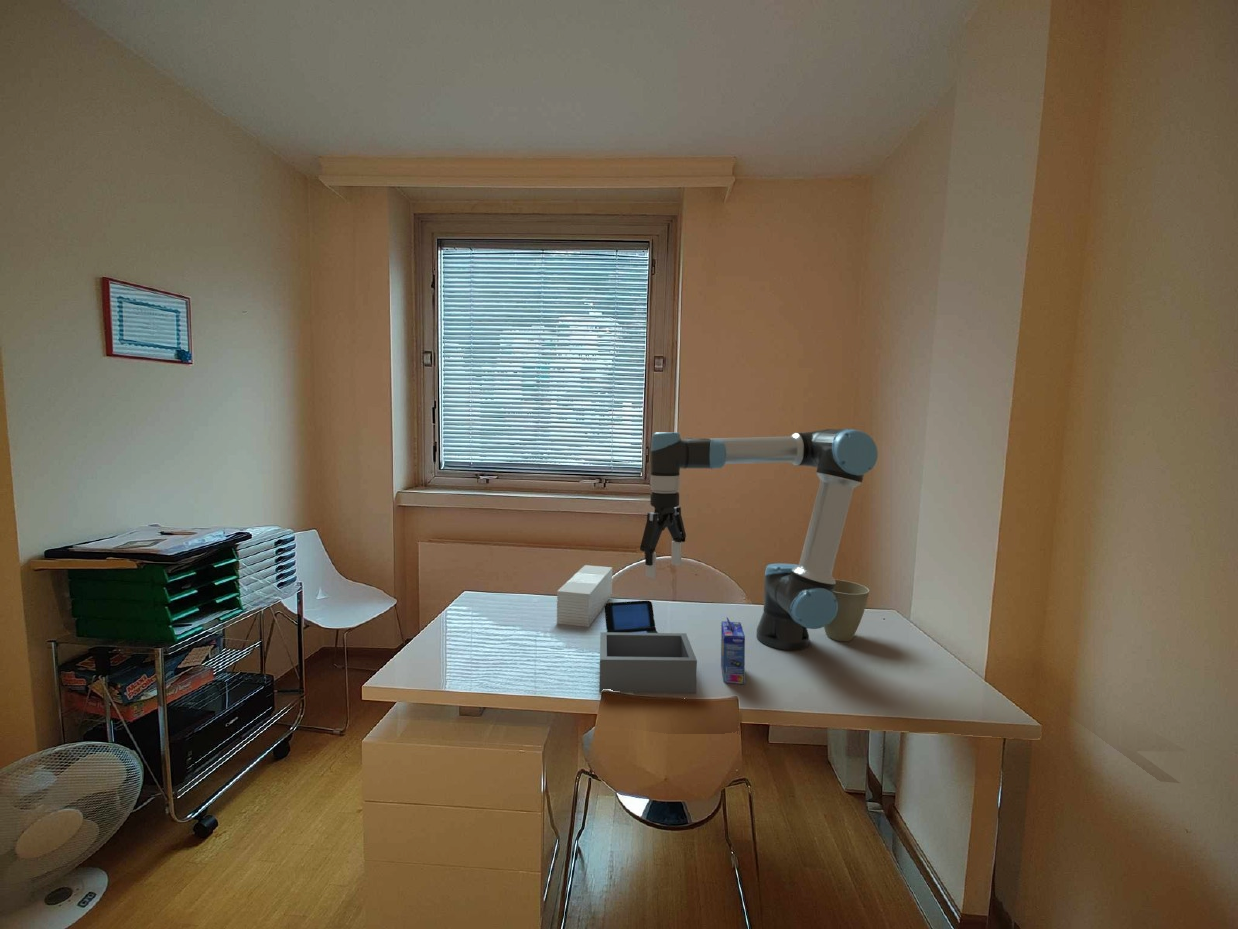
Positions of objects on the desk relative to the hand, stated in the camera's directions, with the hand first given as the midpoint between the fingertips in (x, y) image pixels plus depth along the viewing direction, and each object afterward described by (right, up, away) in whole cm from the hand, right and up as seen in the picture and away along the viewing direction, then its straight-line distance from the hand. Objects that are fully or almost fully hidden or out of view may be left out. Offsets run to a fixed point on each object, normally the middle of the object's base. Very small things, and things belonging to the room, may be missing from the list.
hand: (663, 571), depth 134 cm
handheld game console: (-8, -24, +18) cm, 31 cm away
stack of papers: (-23, -22, +42) cm, 53 cm away
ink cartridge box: (+17, -26, -3) cm, 31 cm away
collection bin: (-5, -26, -5) cm, 27 cm away
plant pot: (+56, -25, +23) cm, 66 cm away
